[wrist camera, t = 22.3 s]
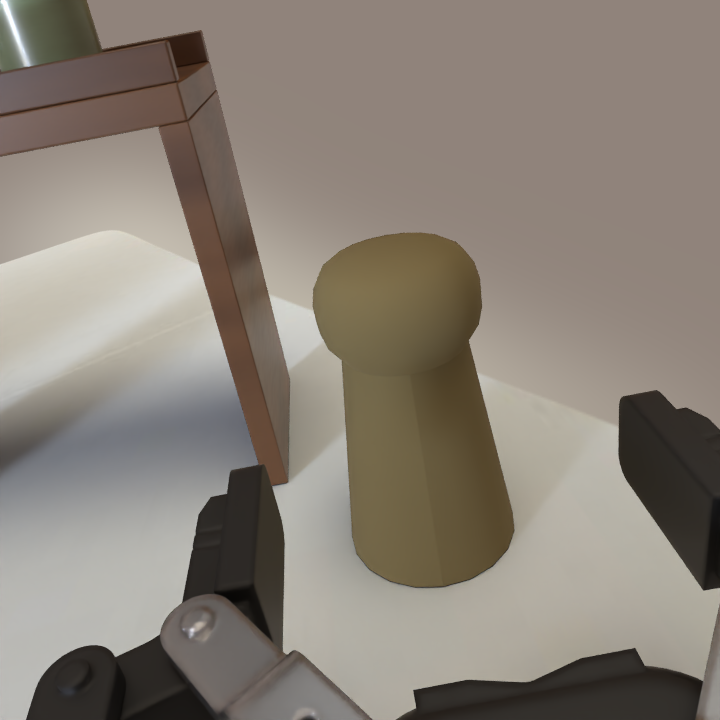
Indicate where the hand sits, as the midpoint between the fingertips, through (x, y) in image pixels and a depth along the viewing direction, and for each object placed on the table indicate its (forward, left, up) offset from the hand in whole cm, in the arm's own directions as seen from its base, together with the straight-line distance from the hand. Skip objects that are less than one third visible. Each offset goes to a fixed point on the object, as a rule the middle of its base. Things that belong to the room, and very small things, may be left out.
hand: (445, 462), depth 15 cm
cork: (-1, +7, -8) cm, 11 cm away
